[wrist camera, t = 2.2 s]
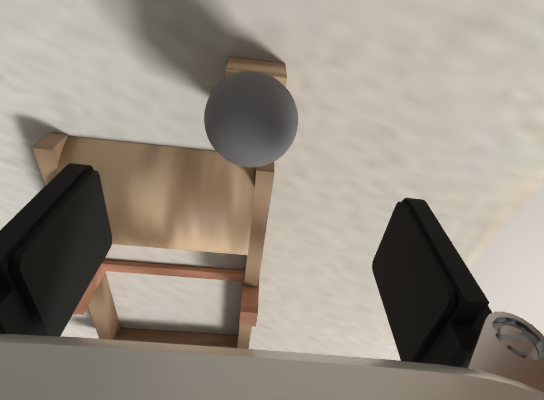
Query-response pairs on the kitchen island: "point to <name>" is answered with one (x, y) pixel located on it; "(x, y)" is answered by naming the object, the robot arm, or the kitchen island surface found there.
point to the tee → (256, 68)
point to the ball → (251, 119)
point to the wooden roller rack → (170, 221)
